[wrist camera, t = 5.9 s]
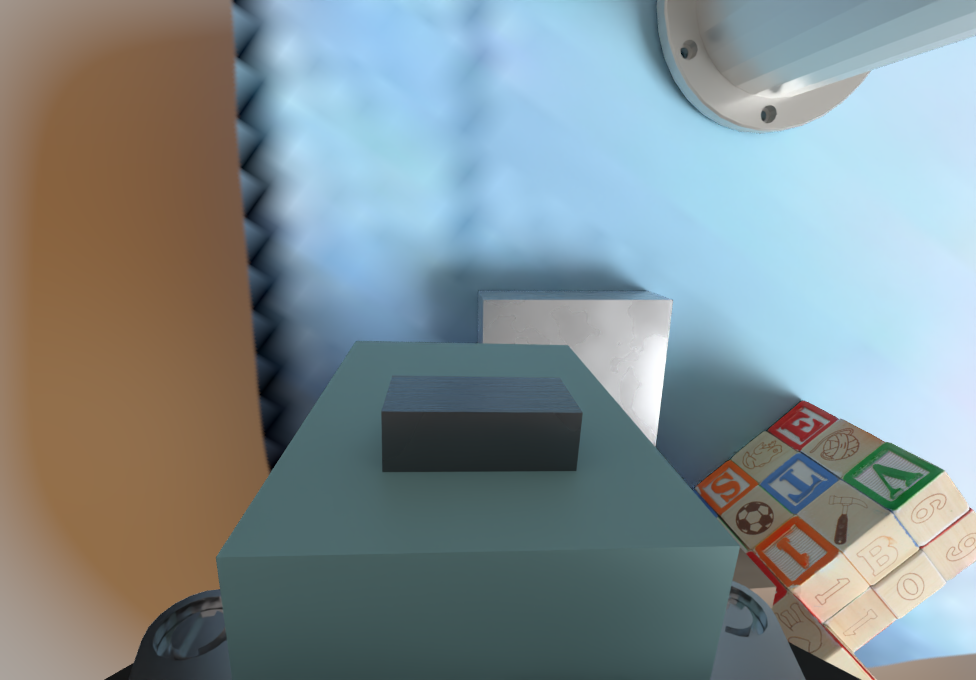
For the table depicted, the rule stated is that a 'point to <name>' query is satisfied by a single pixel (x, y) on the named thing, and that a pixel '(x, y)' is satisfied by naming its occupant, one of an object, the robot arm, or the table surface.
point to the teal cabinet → (473, 531)
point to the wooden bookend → (603, 355)
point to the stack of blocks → (840, 529)
